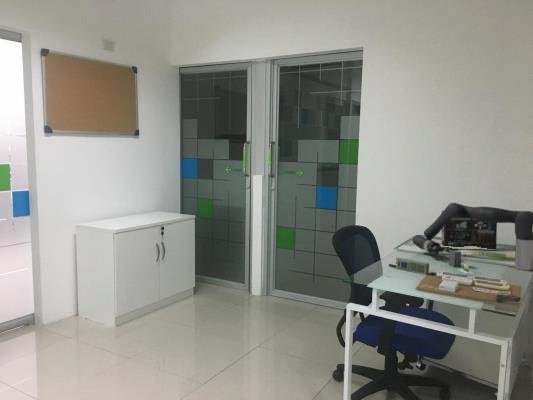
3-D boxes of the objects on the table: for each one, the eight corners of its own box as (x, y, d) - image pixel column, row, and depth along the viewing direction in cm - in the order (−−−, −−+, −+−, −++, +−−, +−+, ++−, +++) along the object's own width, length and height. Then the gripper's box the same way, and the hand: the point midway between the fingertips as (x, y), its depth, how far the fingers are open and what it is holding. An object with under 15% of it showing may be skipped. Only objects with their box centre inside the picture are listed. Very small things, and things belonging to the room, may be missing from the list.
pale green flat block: (438, 266, 269) (439, 258, 268) (461, 265, 270) (461, 257, 270) (458, 275, 247) (459, 266, 246) (483, 275, 248) (483, 265, 248)
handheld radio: (426, 275, 248) (387, 267, 267) (429, 275, 250) (390, 266, 270) (426, 263, 248) (387, 256, 267) (430, 263, 250) (391, 255, 269)
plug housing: (448, 265, 267) (449, 249, 266) (454, 264, 268) (455, 249, 267) (454, 267, 261) (455, 251, 260) (460, 267, 261) (461, 251, 261)
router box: (491, 248, 326) (493, 210, 324) (497, 251, 315) (499, 212, 313) (439, 246, 332) (440, 210, 329) (443, 249, 321) (444, 211, 318)
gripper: (421, 241, 290) (433, 246, 274) (442, 240, 292) (456, 245, 275) (421, 252, 291) (433, 258, 274) (442, 252, 292) (455, 258, 276)
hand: (444, 252), depth 275 cm, fingers open, 8 cm apart
